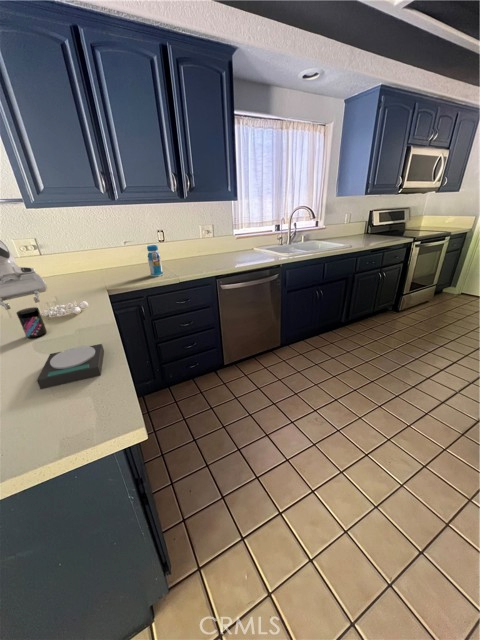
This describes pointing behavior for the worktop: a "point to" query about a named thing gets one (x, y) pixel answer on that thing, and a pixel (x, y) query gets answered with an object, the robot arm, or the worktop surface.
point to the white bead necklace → (62, 309)
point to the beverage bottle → (154, 261)
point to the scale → (71, 365)
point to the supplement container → (32, 322)
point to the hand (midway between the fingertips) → (23, 305)
